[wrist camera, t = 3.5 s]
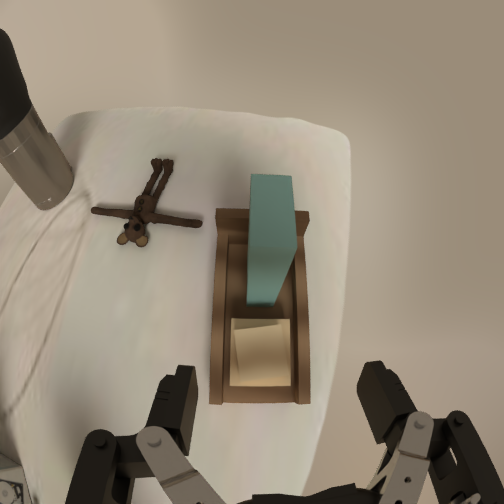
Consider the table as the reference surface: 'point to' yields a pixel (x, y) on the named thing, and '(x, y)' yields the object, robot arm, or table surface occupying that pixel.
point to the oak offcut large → (234, 368)
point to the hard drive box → (12, 483)
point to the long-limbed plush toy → (147, 208)
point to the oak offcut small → (261, 353)
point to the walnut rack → (256, 313)
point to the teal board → (269, 237)
